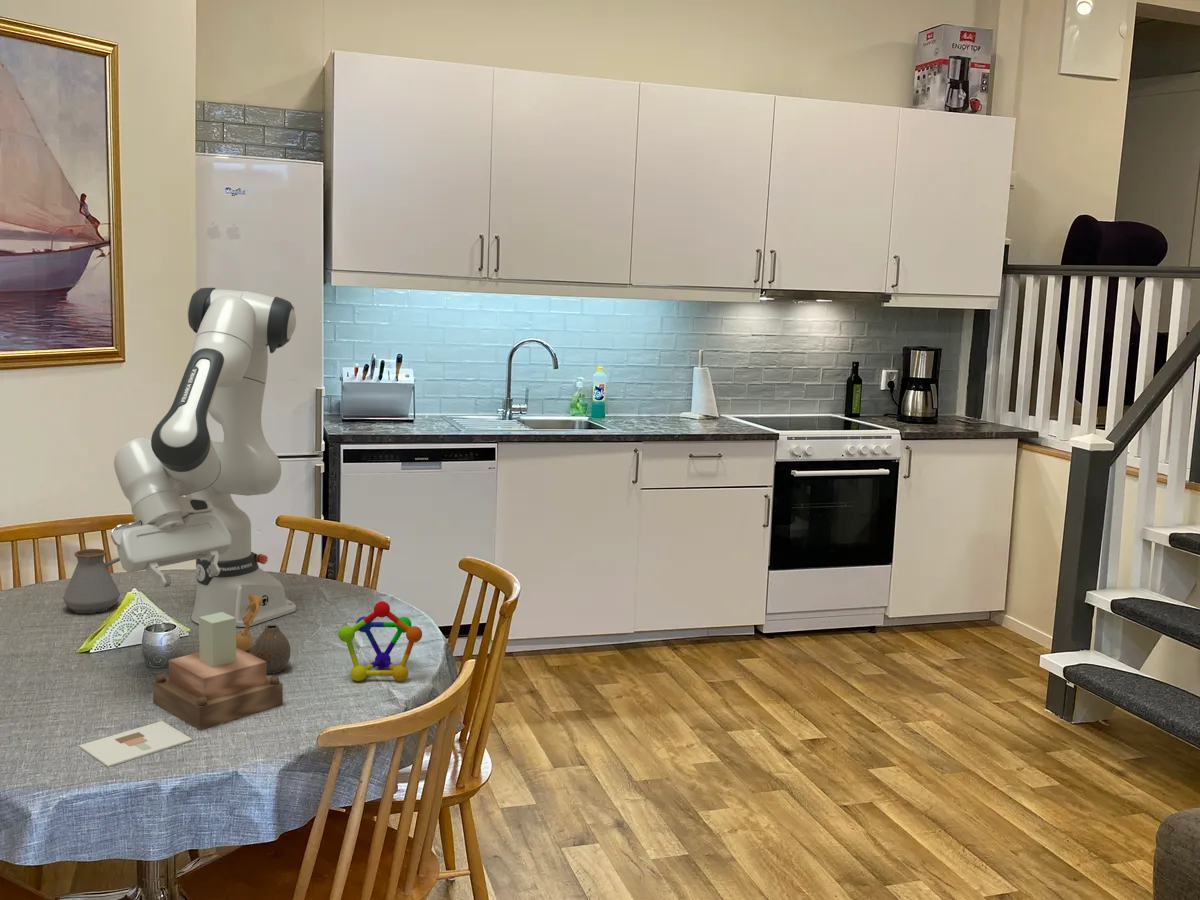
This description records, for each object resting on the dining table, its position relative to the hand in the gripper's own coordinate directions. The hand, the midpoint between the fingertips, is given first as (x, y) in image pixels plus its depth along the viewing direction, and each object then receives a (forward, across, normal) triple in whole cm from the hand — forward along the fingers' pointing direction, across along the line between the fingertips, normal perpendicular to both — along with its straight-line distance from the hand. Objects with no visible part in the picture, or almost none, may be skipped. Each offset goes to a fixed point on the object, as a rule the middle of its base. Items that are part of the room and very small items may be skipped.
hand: (191, 580), depth 199 cm
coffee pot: (-23, +11, +54) cm, 60 cm away
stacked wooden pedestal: (+21, -1, +8) cm, 23 cm away
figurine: (+8, +17, +22) cm, 29 cm away
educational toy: (+27, +29, +4) cm, 40 cm away
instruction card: (+25, -19, +3) cm, 32 cm away
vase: (+16, +15, +14) cm, 26 cm away
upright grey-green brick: (+16, -1, +2) cm, 16 cm away
